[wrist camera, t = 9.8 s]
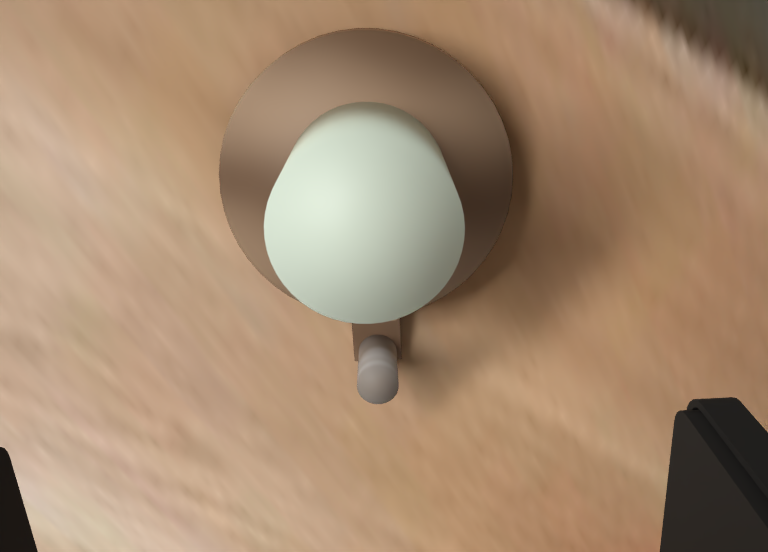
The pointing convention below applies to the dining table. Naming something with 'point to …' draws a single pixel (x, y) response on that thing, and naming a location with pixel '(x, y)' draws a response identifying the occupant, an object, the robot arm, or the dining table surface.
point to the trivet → (382, 85)
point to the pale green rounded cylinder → (364, 216)
